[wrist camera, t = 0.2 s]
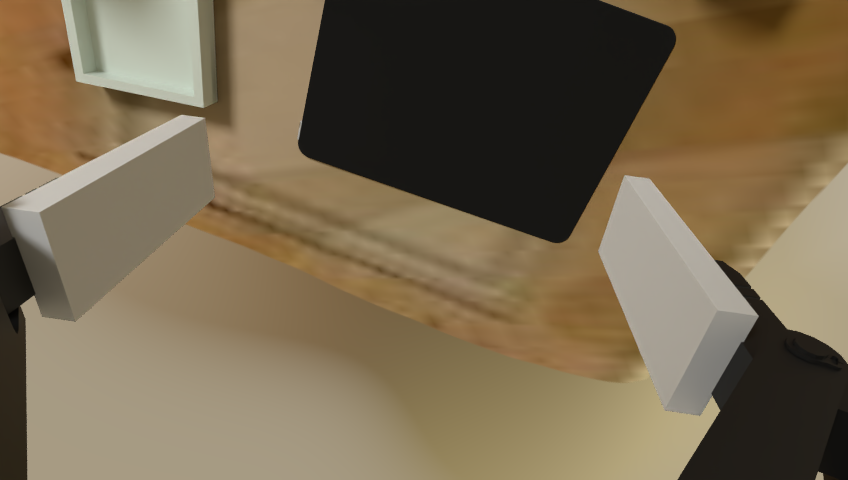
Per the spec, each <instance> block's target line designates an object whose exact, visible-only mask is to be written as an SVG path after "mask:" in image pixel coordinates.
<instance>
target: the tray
mask: <svg viewBox="0 0 848 480" xmlns="http://www.w3.org/2000/svg"><path fill="white" fill-rule="evenodd" d="M61 1H62V6H63V12H64V17H65V23H66V28H67V33H68V39H69V44H70V50H71V55H72V60H73V66H74V71H75V77H76V81H77V82H82V83H87V84H92V85H96V86H101V87H106V88H111V89H115V90H120V91H125V92H130V93H135V94H139V95H144V96H149V97H154V98H158V99H163V100H168V101H173V102H178V103H182V104H187V105H192V106H197V107H201V108H205V107H207V106H209V105H211V104H214V103H216V102H218V98H217V75H216V52H215V29H214V7H213V0H61Z"/></svg>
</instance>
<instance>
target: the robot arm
mask: <svg viewBox="0 0 848 480" xmlns="http://www.w3.org/2000/svg"><path fill="white" fill-rule="evenodd" d="M214 198H215V194H214V186H213V177H212V169H211V161H210V153H209V145H208V137H207V129H206V121H205V118H202V117H194V116H187V115H180V116H178V117H176V118H174V119H172V120H170V121H168V122H166V123H164V124H162V125H160V126H158V127H156V128H154V129H153V130H151V131H149V132H147V133H145V134H143V135H141V136H139V137H137V138H135V139H133V140H131V141H129V142H127V143H125V144H123V145H121V146H119V147H117V148H115V149H113V150H112V151H110V152H108V153H106V154H104V155H102V156H100V157H98V158H96V159H94V160H92V161H90V162H88V163H86V164H84V165H82V166H80V167H78V168H76V169H74V170H72V171H71V172H69V173H67V174H65V175H63V176H61V177H59V178H55V179H53V180H52V181H49V182H47V183H46V184H44V185H42V186H40V187H39V188H37V189H34V190H32V191H30V192H28V193H26V194H25V195H24V196H20V197H18V198H16V199H14V200H12V201H10V202H8V203H6V204H4V205H2V206H0V480H27V418H26V417H27V414H26V331H25V330H26V329H25V328H26V326H25V317H24V314H23V312H22V309H21V307H20V305H22V304H23V303H24V302H25V301H27V300H28V299H30V298H31V297H32V296H35V298H36V301H37V304H38V306H39V309H40V312H41V314H42V317H49V318H55V319H62V320H68V321H75V322H76V321H77V320H78V319H79V318H80V317H81V316H82V315H83V314H85V312H87V311H88V310H89V309H90V308H91V307H92V306H94V304H96V303H97V302H98V301H99V300H100V299H101V298H102V297H103V296H105V295H106V294H107V293H108V292H109V291H110V290H111V289H113V288H114V287H115V286H116V285H117V284H118V283H119V282H120V281H122V280H123V279H124V278H125V277H126V276H127V275H128V274H129V273H131V272H132V271H133V270H134V269H135V268H136V267H137V266H138V265H140V264H141V263H142V262H143V261H144V260H145V259H146V258H147V257H148V256H149V255H151V254H152V253H153V252H154V251H155V250H156V249H157V248H159V247H160V246H161V245H162V244H163V243H164V242H165V241H166V240H168V239H169V238H170V237H171V236H172V235H173V234H174V233H175V232H177V231H178V230H179V229H180V228H181V227H182V226H183V225H184V224H185V223H187V222H188V221H189V220H190V219H191V218H192V217H193V216H194V215H196V214H197V213H198V212H199V211H200V210H201V209H202V208H203V207H205V206H206V205H207V204H208V203H209V202H210V201H211V200H212V199H214ZM598 252H599V254H600V257H601V259H602V262H603V264H604V266H605V269H606V271H607V274H608V276H609V278H610V281H611V283H612V286H613V288H614V290H615V293H616V295H617V298H618V300H619V302H620V305H621V307H622V310H623V312H624V314H625V317H626V319H627V321H628V324H629V326H630V329H631V331H632V333H633V336H634V338H635V341H636V343H637V345H638V348H639V350H640V353H641V355H642V357H643V360H644V362H645V365H646V367H647V369H648V372H649V374H650V377H651V379H652V381H653V384H654V386H655V388H656V391H657V393H658V396H659V398H660V400H661V403H662V405H663V408H664V410H665V411H672V412H679V413H686V414H692V415H699V416H700V415H701V414H702V412H703V410H704V409H705V407H706V405H707V404H708V402H709V400H710V398H711V397H712V396H713V398H714V399H715V401H716V403H717V405H718V407H719V409H720V410H721V411H720V412H719V414H718V416H717V417H716V419H715V421H714V422H713V424H712V425H711V427H710V428H709V430H708V432H707V433H706V435H705V437H704V438H703V440H702V441H701V443H700V444H699V446H698V448H697V449H696V451H695V453H694V454H693V456H692V457H691V459H690V461H689V462H688V464H687V465H686V467H685V469H684V470H683V472H682V474H681V475H680V477H679V479H678V480H815V478H816V475H817V472H818V471H819V472H821V473H823V476H824V480H848V364H847V363H846V361H845V360H844V359H843V358H842V356H841V355H840V354H838V353H837V352H836V351H835V350H833V349H832V348H831V347H829V346H828V345H826V344H825V343H823V342H821V341H819V340H817V339H815V338H814V337H811V336H809V335H806V334H803V333H801V332H797V331H792V330H788V329H786V328H785V326H784V325H783V324H782V323H781V321H780V320H779V319H778V318H777V317H776V316H775V314H774V313H773V312H772V311H771V310H770V308H769V307H768V306H767V305H766V304H765V303H764V301H763V300H760V297H759V295H758V294H757V293H756V292H755V291H754V289H751V286H750V285H749V284H748V282H747V281H746V280H745V279H744V278H743V276H742V275H741V274H740V273H739V272H737V271H736V270H734V269H733V268H731V267H730V266H729V265H727V264H726V263H724V262H723V261H718V260H714V259H713V258H712V257H711V255H710V254H709V253H708V252H707V250H706V249H705V248H704V247H703V245H702V244H701V243H700V242H699V240H698V239H697V238H696V237H695V235H694V234H693V233H692V232H691V230H690V229H689V228H688V227H687V225H686V224H685V223H684V221H683V220H682V219H681V218H680V216H679V215H678V214H677V213H676V211H675V210H674V209H673V208H672V206H671V205H670V204H669V203H668V201H667V200H666V199H665V198H664V196H663V195H662V194H661V193H660V191H659V190H658V189H657V188H656V186H655V185H654V184H653V182H652V181H651V180H650V179H648V178H640V177H633V176H626V175H624V178H623V181H622V184H621V187H620V190H619V193H618V195H617V198H616V201H615V204H614V207H613V210H612V213H611V216H610V219H609V222H608V225H607V228H606V231H605V233H604V236H603V239H602V242H601V245H600V248H599V251H598Z"/></svg>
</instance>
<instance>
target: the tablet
mask: <svg viewBox="0 0 848 480" xmlns="http://www.w3.org/2000/svg"><path fill="white" fill-rule="evenodd" d="M675 41H676V36H675V33H674V31H673V29H672V28H671V27H669V26H667V25H664V24H662V23H659V22H656V21H654V20H651V19H648V18H645V17H643V16H640V15H637V14H635V13H632V12H629V11H627V10H624V9H621V8H619V7H616V6H613V5H611V4H608V3H605V2H602V1H600V0H325V3H324V9H323V14H322V19H321V24H320V30H319V35H318V40H317V46H316V51H315V56H314V61H313V67H312V72H311V77H310V82H309V88H308V93H307V98H306V103H305V109H304V114H303V119H302V121H301V122H300V127H299V132H298V138H297V139H298V146H299V149H300V151H301V152H302V153H303V154H304V155H305V156H307V157H309V158H312V159H314V160H317V161H320V162H323V163H326V164H329V165H332V166H335V167H337V168H340V169H343V170H346V171H349V172H352V173H355V174H358V175H361V176H363V177H366V178H369V179H372V180H375V181H378V182H381V183H384V184H386V185H389V186H392V187H395V188H398V189H401V190H404V191H407V192H409V193H412V194H415V195H418V196H421V197H424V198H427V199H430V200H432V201H435V202H438V203H441V204H444V205H447V206H450V207H453V208H455V209H458V210H461V211H464V212H467V213H470V214H473V215H476V216H478V217H481V218H484V219H487V220H490V221H493V222H496V223H499V224H501V225H504V226H507V227H510V228H513V229H516V230H519V231H522V232H524V233H527V234H530V235H533V236H536V237H539V238H542V239H545V240H548V241H550V242H554V243H560V242H563V241H565V240H566V239H568V237H569V236H570V234H571V233H572V231H573V229H574V227H575V225H576V223H577V222H578V220H579V218H580V216H581V214H582V213H583V211H584V209H585V207H586V205H587V203H588V202H589V200H590V198H591V196H592V194H593V193H594V191H595V189H596V187H597V185H598V183H599V182H600V180H601V178H602V176H603V174H604V173H605V171H606V169H607V167H608V165H609V164H610V162H611V160H612V158H613V156H614V154H615V153H616V151H617V149H618V147H619V145H620V144H621V142H622V140H623V138H624V136H625V134H626V133H627V131H628V129H629V127H630V125H631V124H632V122H633V120H634V118H635V116H636V114H637V113H638V111H639V109H640V107H641V105H642V104H643V102H644V100H645V98H646V96H647V95H648V93H649V91H650V89H651V87H652V85H653V84H654V82H655V80H656V78H657V76H658V75H659V73H660V71H661V69H662V67H663V65H664V64H665V62H666V60H667V58H668V56H669V55H670V53H671V51H672V49H673V47H674V45H675Z"/></svg>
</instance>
